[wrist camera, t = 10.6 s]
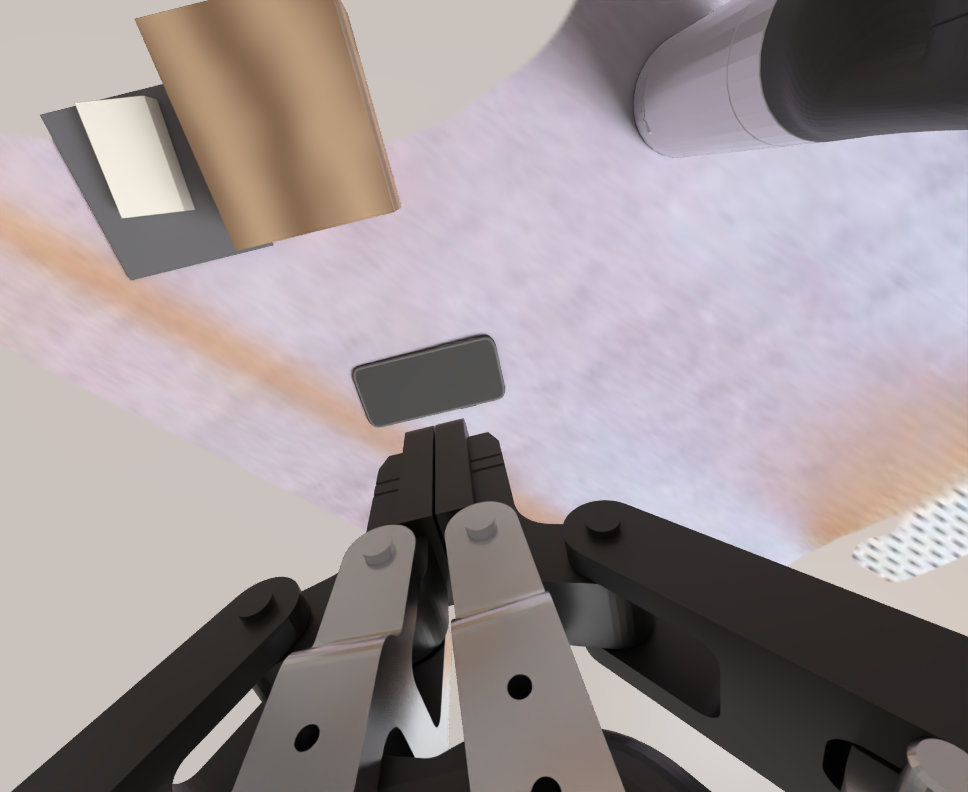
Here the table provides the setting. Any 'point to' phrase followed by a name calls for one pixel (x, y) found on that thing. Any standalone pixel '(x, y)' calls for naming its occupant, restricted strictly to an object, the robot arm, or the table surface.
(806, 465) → the table surface
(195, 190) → the rubber mat
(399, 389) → the smartphone
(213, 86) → the brown wooden block
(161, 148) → the card box
